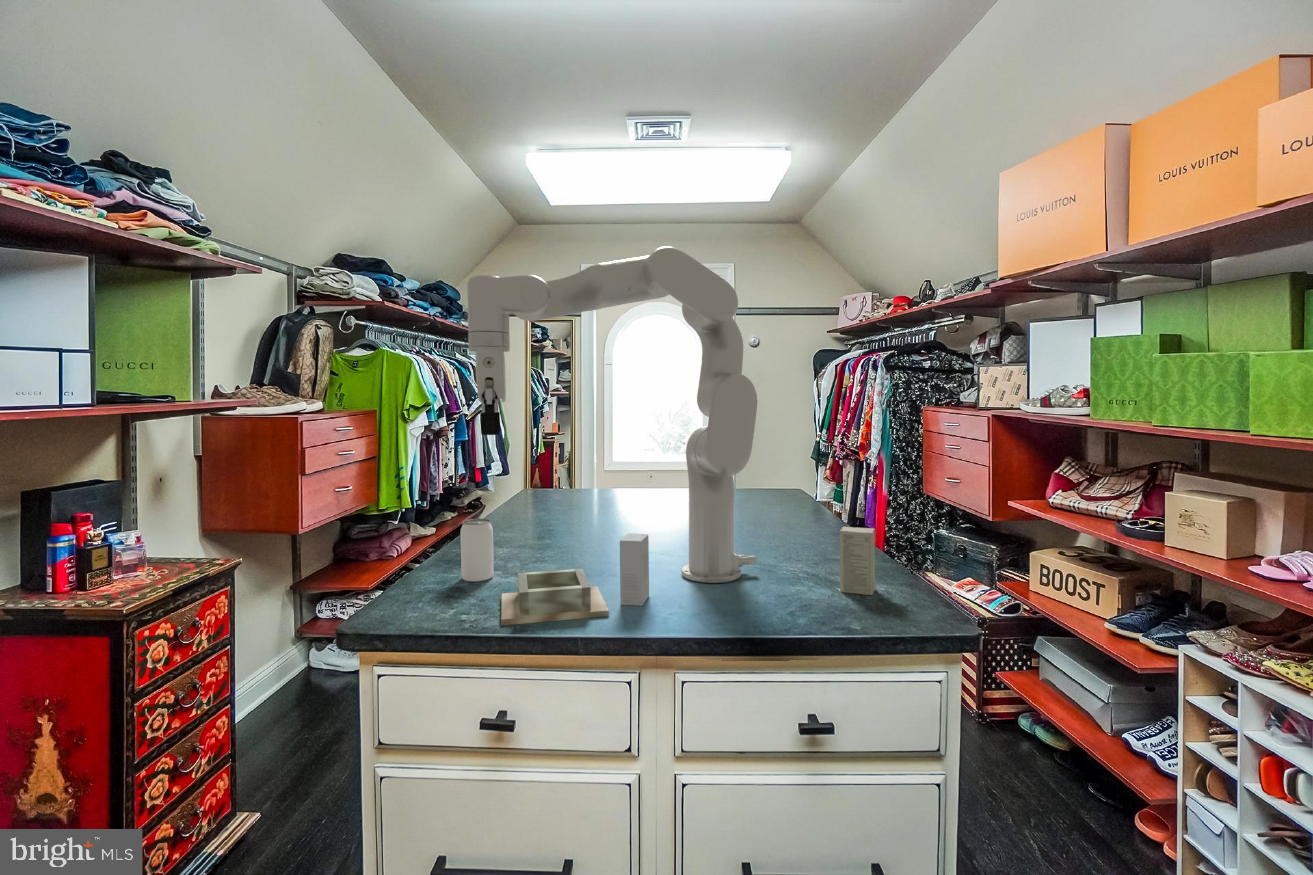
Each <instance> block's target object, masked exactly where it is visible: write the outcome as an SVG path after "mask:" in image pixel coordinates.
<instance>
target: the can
mask: <svg viewBox="0 0 1313 875" xmlns="http://www.w3.org/2000/svg"><path fill="white" fill-rule="evenodd" d="M461 523H462V526H460V527H461V528H460V566H461V568H460V569H461V573H460V574H461V579H462V580H463V581H464V582H467V583H481V582H486V581H489V580H491V579H492V578H493V576H494V574H495V573H494V533H493V532H494V529H493V526H492V524H491V519H487V518H471V519H466V520H464V521H462V522H461Z"/></svg>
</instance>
